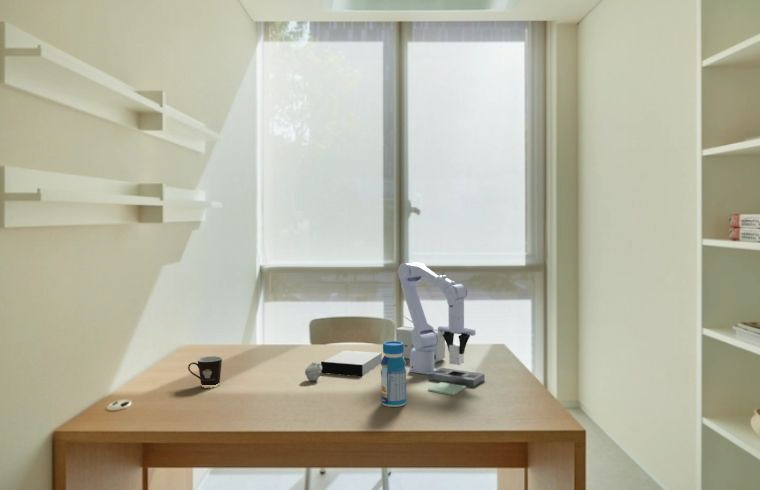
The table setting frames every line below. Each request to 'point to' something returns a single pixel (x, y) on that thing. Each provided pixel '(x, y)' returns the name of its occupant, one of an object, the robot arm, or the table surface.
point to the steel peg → (455, 354)
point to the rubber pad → (447, 388)
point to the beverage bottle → (393, 375)
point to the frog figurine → (313, 371)
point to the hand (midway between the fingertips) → (456, 352)
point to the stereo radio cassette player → (406, 339)
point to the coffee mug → (208, 370)
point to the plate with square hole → (456, 377)
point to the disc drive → (351, 363)
